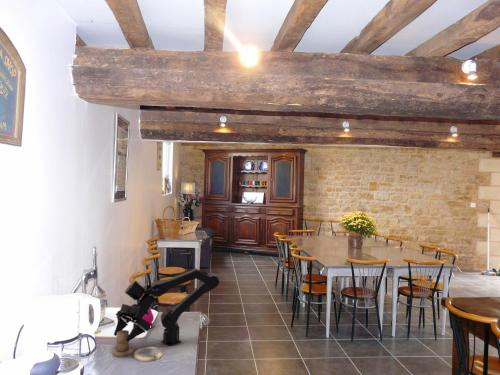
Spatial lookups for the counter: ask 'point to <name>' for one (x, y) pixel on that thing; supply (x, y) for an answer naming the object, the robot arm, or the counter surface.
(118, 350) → the brown flanged knob
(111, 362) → the counter surface
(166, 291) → the robot arm
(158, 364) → the counter surface
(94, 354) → the counter surface
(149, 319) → the pepper mill
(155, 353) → the plate
